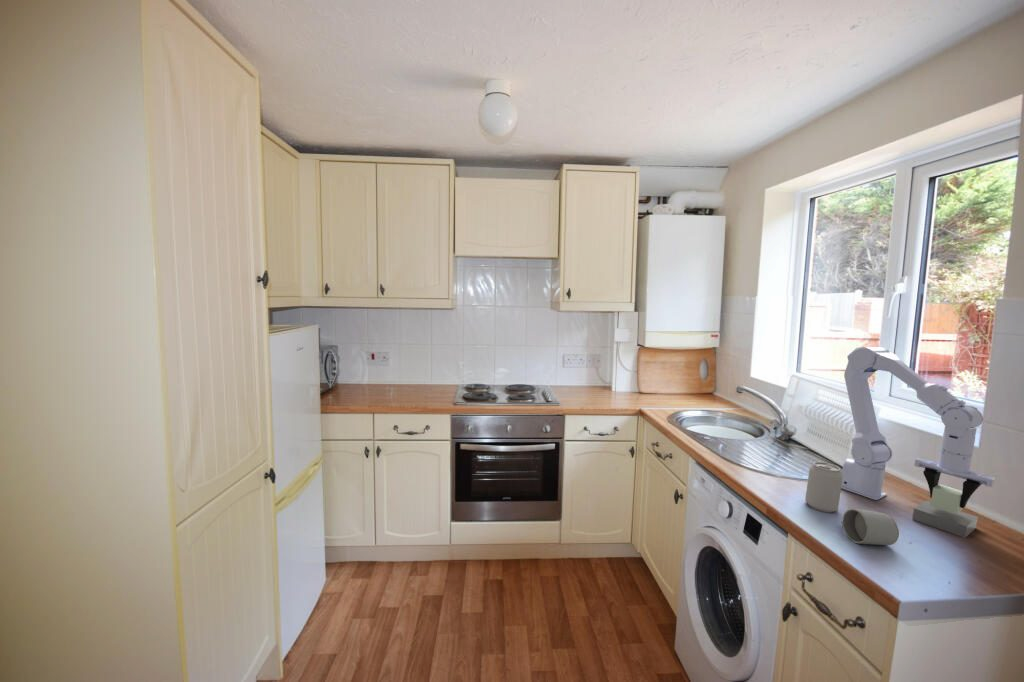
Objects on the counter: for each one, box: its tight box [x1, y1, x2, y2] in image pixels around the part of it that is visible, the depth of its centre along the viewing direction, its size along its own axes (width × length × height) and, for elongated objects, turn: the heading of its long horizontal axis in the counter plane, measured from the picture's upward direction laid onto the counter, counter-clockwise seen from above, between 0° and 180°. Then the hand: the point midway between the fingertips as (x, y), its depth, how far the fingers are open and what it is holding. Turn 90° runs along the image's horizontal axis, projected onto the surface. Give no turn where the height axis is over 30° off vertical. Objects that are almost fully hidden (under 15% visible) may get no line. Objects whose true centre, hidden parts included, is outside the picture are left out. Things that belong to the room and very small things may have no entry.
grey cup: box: [841, 508, 900, 546], centre depth 104 cm, size 11×8×8 cm
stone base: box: [912, 500, 979, 539], centre depth 114 cm, size 10×10×3 cm
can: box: [805, 461, 843, 513], centre depth 119 cm, size 8×8×12 cm
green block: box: [930, 483, 964, 515], centre depth 113 cm, size 5×5×5 cm
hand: (947, 502), depth 114 cm, fingers closed on green block, 5 cm apart
